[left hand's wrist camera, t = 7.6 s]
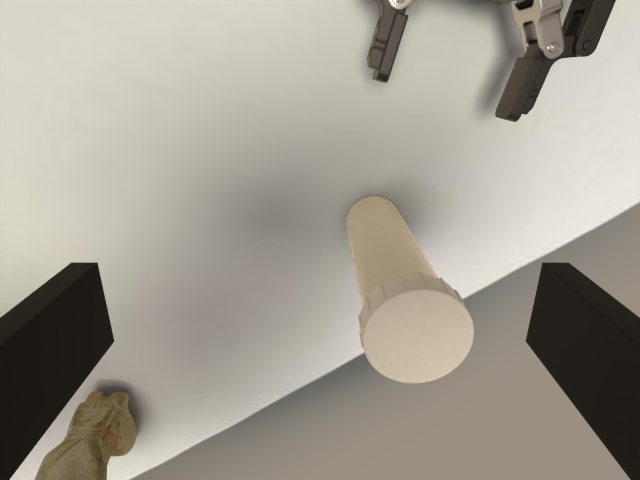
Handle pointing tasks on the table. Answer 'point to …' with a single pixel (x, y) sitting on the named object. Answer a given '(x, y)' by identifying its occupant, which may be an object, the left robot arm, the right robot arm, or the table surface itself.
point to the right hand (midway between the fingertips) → (443, 100)
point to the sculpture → (92, 439)
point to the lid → (415, 328)
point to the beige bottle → (382, 244)
